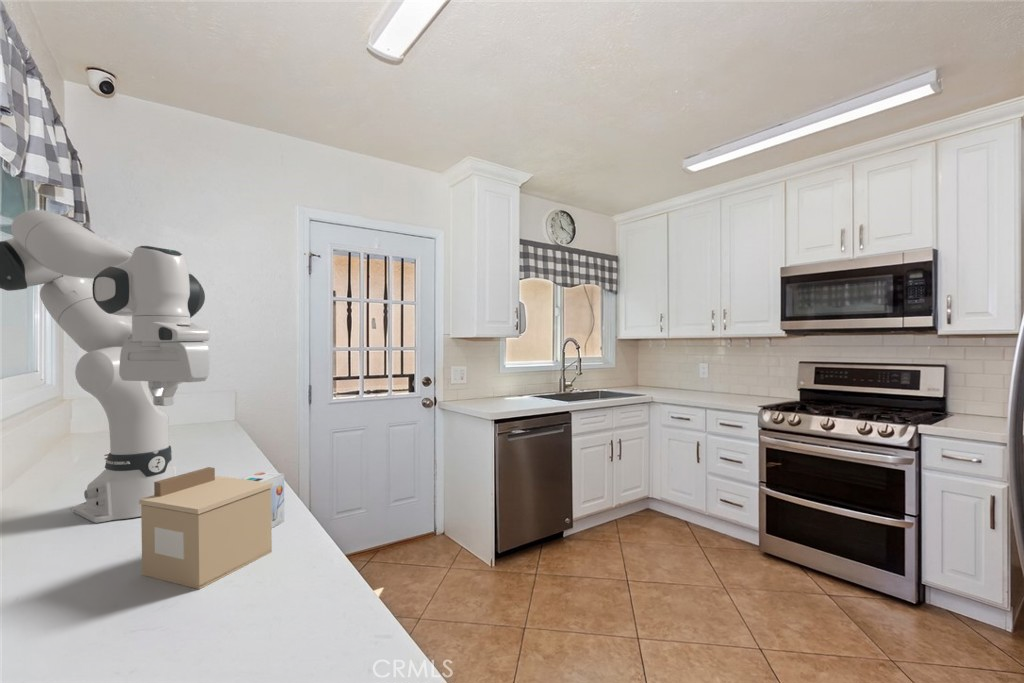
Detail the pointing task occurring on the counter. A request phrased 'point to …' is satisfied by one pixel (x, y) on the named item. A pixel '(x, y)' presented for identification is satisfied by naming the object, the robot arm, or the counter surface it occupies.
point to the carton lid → (201, 491)
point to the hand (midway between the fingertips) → (163, 405)
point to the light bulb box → (273, 494)
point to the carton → (205, 540)
